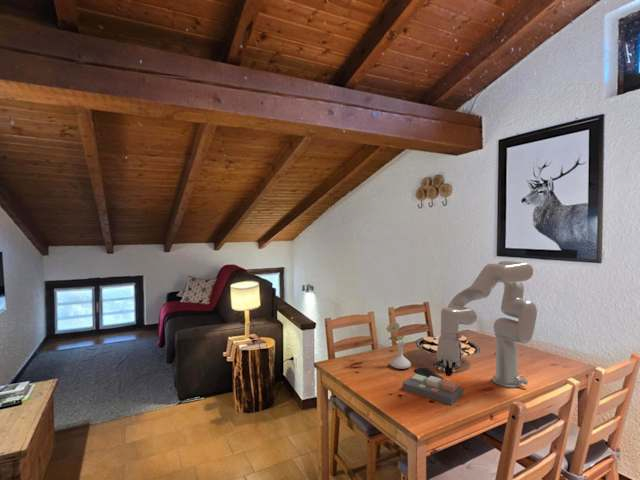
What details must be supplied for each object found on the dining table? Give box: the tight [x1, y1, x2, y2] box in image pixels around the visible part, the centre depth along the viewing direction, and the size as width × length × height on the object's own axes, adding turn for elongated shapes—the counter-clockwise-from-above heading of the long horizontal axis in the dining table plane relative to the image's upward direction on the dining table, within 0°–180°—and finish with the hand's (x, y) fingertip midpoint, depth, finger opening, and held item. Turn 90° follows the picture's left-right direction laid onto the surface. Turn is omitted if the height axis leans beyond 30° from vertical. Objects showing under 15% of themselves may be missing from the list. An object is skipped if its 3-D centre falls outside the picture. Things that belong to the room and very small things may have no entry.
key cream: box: [426, 376, 443, 388], centre depth 163 cm, size 5×5×3 cm
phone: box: [413, 367, 444, 381], centre depth 180 cm, size 8×1×15 cm
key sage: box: [411, 373, 427, 383], centre depth 168 cm, size 5×5×3 cm
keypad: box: [402, 373, 464, 406], centre depth 161 cm, size 23×14×3 cm, turn 48°
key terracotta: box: [442, 379, 459, 393], centre depth 158 cm, size 5×5×3 cm
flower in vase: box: [386, 321, 412, 370], centre depth 191 cm, size 13×11×25 cm
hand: (448, 375), depth 157 cm, fingers closed
